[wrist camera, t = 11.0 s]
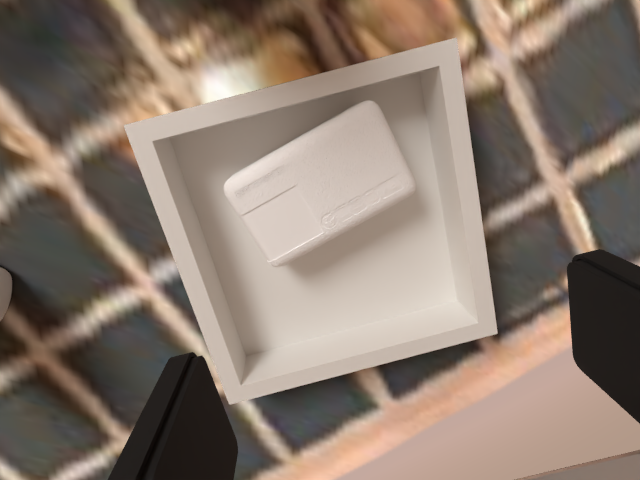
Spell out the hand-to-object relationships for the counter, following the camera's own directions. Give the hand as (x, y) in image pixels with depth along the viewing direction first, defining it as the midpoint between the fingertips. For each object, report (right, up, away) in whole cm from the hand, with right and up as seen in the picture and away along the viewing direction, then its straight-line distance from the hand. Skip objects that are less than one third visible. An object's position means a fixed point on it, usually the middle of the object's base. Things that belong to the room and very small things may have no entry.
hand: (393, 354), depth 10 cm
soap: (-2, +6, +14) cm, 15 cm away
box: (-2, +4, +15) cm, 15 cm away
